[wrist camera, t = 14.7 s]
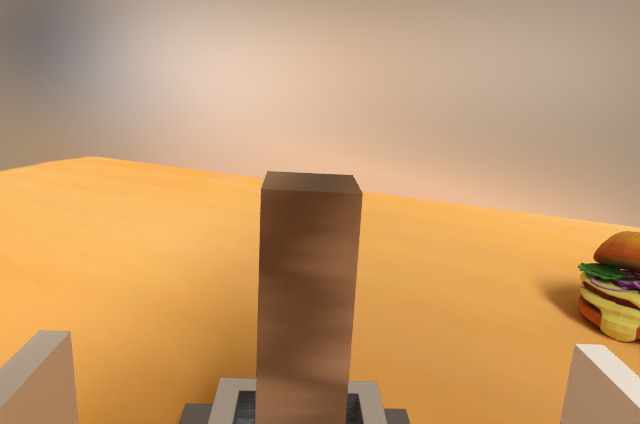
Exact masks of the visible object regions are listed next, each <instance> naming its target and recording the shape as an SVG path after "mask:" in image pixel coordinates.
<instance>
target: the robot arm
mask: <svg viewBox="0 0 640 424" xmlns="http://www.w3.org/2000/svg"><path fill="white" fill-rule="evenodd" d="M0 424H78V415H77V403H76V391H75V379H74V368H73V356H72V344H71V332H70V331H39V332H38V333H37V334H36V335H35V336H34V337H32V338H31V339H30V340H29V341H28V342H27V343H26V344H25V345H24V346H23V347H22V348H21V349H20V350H19V351H18V352H17V353H16V354H15V355H14V356H13V357H12V358H11V359H10V360H9V361H8V362H7V363H6V364H5V365H4V366H3V367H2V368H0ZM560 424H640V377H639V376H637V375H636V374H635V373H634V372H633V371H632V370H631V369H630V368H629V367H627V366H626V365H625V364H624V363H623V362H622V361H621V360H620V359H619V358H617V357H616V356H615V355H614V354H613V353H612V352H611V351H610V350H609V349H607V348H606V347H605V346H604V345H597V344H575V346H574V352H573V357H572V363H571V368H570V373H569V379H568V384H567V389H566V395H565V400H564V405H563V411H562V416H561V421H560Z"/></svg>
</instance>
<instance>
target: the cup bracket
mask: <svg viewBox="0 0 640 424" xmlns="http://www.w3.org/2000/svg"><path fill="white" fill-rule="evenodd" d="M255 410H256V379H253V378H220V381H219V384H218V388H217V392H216V396H215V399H214V403H213V404H186V406H185V408H184V411H183V414H182V417H181V420H180V423H179V424H255ZM345 424H410V422H409V418H408V415H407V412H406V409H383V405H382V401H381V397H380V392H379V388H378V384H377V382H362V381H348V395H347V408H346V421H345Z"/></svg>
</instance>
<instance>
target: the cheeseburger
mask: <svg viewBox="0 0 640 424" xmlns="http://www.w3.org/2000/svg"><path fill="white" fill-rule="evenodd" d="M593 258H594V260H595V261H596V262H598V263H600V264H598V263H590V264H584V263H581V264H580V265H582V266H580V265H579V266H578V268H580V271H585V272H583V273H581V276H580V278H581V280H582V285H583V284H584V286H583V287H581V288H580V289H579V291H580V292H581V297H580V298H579V310H580V311H581V312H582V314H583V315H584V316H585V317H586V318H587V319H589V320H590V321H591V322H593V323H594V324H596V325H597V326H599V327H600V329H601V331H602V332H604V333H605V334H606V335H607V336H609V337H611V338H613V339H615V340H618V341H624V342H628V341H634V340H635V339H638V340H640V275H639V274H640V233H638V232H629V231H627V232H620V233H618V234H615V235H613V236H612V237H610V238H609V239H608V240H606V241H605V242H604V243H602V244H601V245H600V247H599V248H598V249H597V251H596V252H595V254H594V257H593ZM620 269H624V270H620ZM627 270H629V271H627ZM635 273H637V274H635Z"/></svg>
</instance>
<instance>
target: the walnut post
mask: <svg viewBox="0 0 640 424" xmlns="http://www.w3.org/2000/svg"><path fill="white" fill-rule="evenodd" d="M362 194H363V193H362V192H361V190H360V188H359V186H358V184H357V182H356V180H355V178H354V177H353V175H335V174H313V173H292V172H271V171H267V174H266V177H265V180H264V182H263V185H262V188H261V212H260V251H259V291H258V331H257V370H256V410H255V424H345V421H346V408H347V395H348V381H349V368H350V355H351V341H352V328H353V314H354V301H355V288H356V274H357V261H358V247H359V234H360V221H361V207H362Z"/></svg>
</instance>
